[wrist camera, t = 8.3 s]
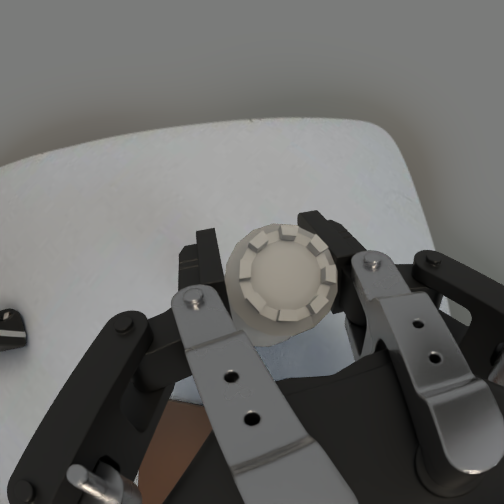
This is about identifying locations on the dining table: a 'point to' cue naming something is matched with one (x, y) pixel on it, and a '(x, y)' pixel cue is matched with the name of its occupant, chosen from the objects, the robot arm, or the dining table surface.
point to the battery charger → (11, 330)
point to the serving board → (172, 449)
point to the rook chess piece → (279, 283)
